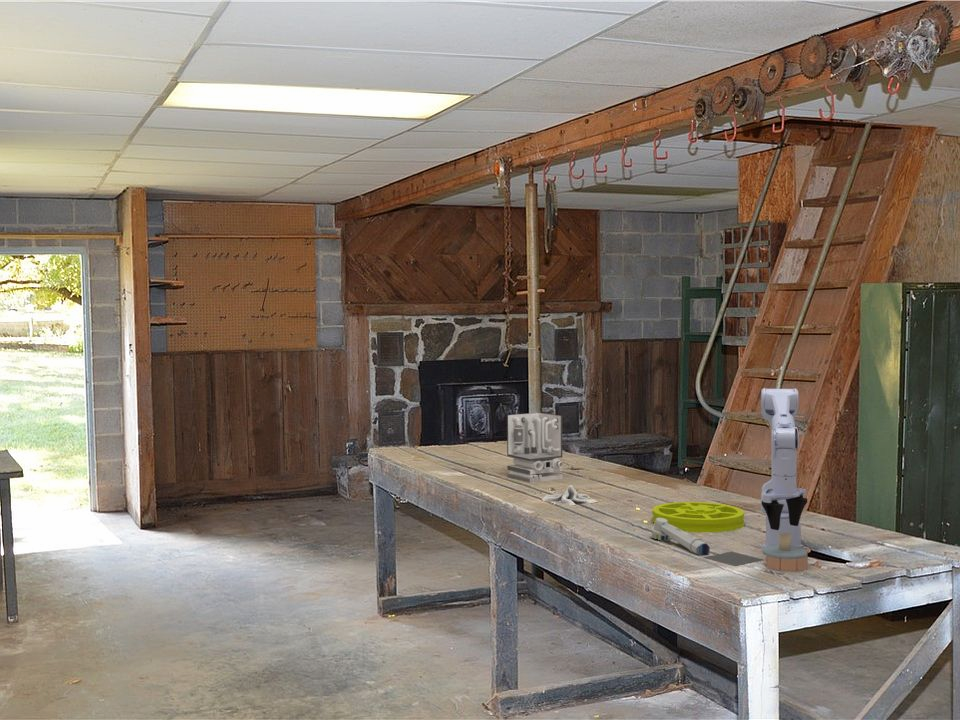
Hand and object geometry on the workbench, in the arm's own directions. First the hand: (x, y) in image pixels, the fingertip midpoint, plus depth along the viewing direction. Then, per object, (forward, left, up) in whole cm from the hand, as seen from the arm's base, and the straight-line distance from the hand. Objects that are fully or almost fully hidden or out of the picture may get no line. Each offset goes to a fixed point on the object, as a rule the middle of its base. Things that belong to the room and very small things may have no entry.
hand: (784, 527), depth 252 cm
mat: (+5, -12, -10) cm, 17 cm away
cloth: (-11, -100, -11) cm, 101 cm away
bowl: (0, +1, -10) cm, 10 cm away
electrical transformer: (-32, -146, -10) cm, 150 cm away
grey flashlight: (+6, -31, -11) cm, 34 cm away
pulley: (-22, -50, -11) cm, 56 cm away
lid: (0, +1, -7) cm, 7 cm away
